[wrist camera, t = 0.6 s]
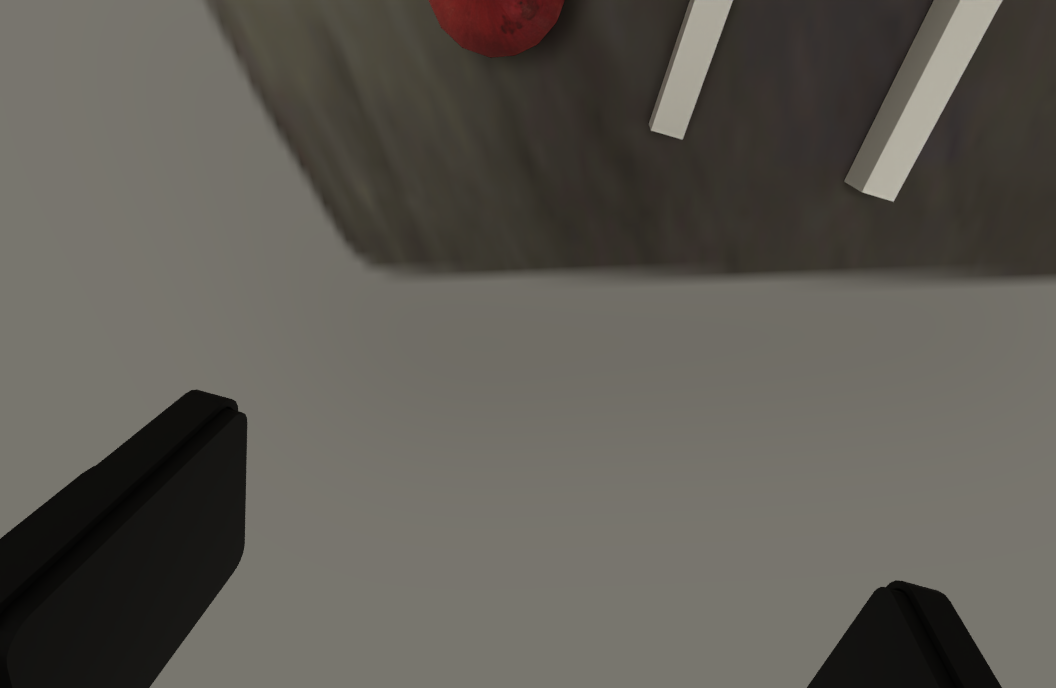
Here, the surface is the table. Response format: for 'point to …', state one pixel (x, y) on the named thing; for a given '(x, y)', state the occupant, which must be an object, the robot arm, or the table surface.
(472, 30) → the pomegranate
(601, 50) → the table surface
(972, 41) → the notched board
